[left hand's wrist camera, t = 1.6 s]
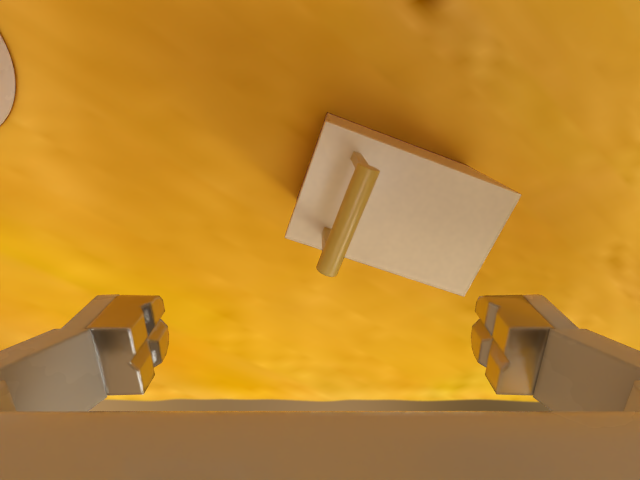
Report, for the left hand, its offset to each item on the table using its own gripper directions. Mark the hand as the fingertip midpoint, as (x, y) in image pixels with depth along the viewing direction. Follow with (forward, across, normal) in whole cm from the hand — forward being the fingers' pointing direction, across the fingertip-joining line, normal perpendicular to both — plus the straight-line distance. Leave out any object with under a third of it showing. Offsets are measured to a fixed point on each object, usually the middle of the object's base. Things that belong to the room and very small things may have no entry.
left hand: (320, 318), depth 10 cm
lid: (+22, -7, +4) cm, 24 cm away
